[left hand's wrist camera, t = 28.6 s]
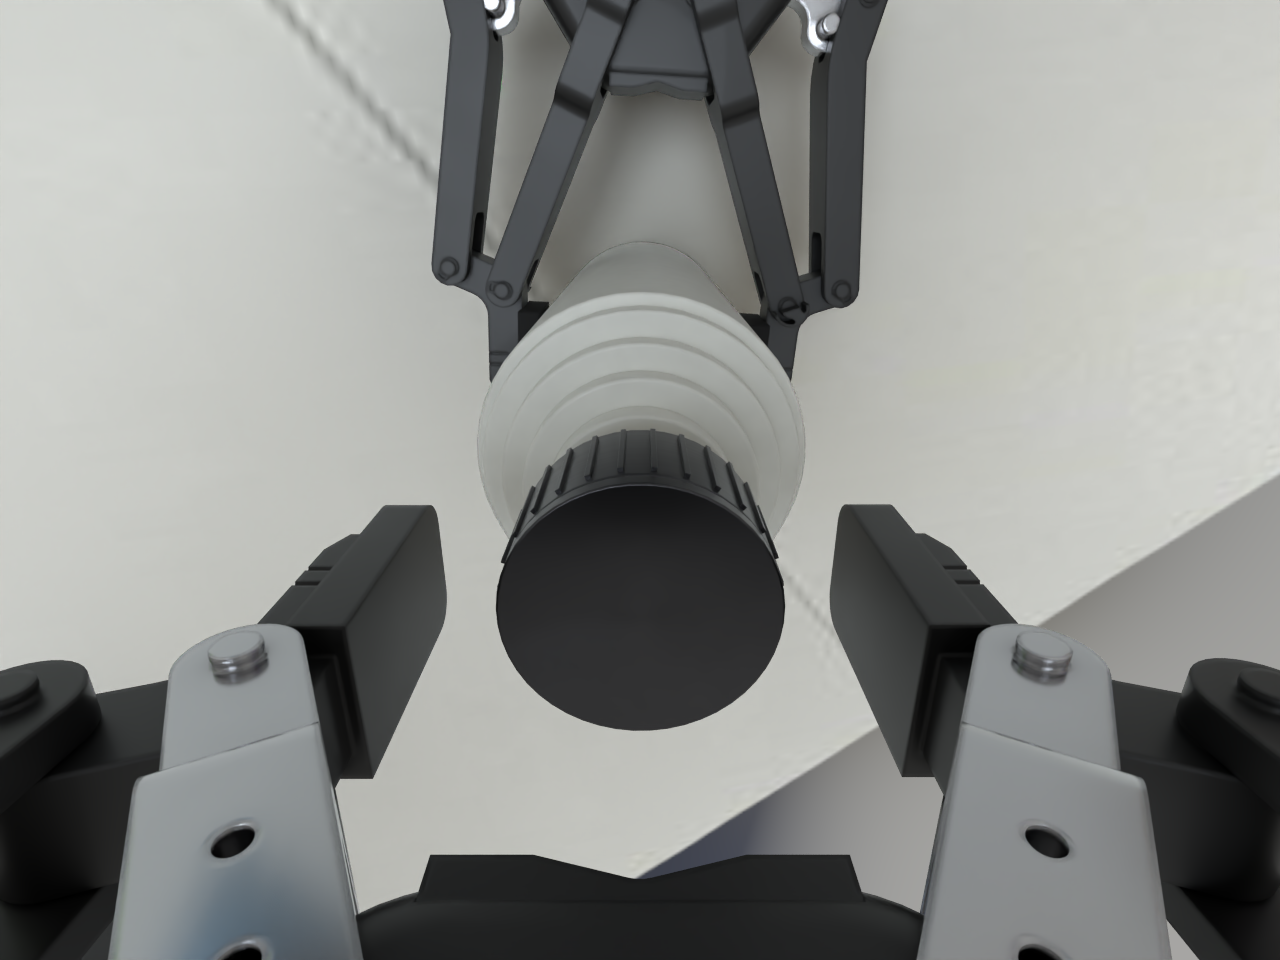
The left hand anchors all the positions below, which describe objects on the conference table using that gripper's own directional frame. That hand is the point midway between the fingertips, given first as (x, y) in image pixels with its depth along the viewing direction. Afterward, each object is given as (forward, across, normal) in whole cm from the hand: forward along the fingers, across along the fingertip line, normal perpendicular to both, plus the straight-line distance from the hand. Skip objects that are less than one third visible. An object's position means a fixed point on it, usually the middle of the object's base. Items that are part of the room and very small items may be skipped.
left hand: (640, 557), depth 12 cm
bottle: (+22, 0, 0) cm, 22 cm away
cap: (-2, 0, 0) cm, 2 cm away
